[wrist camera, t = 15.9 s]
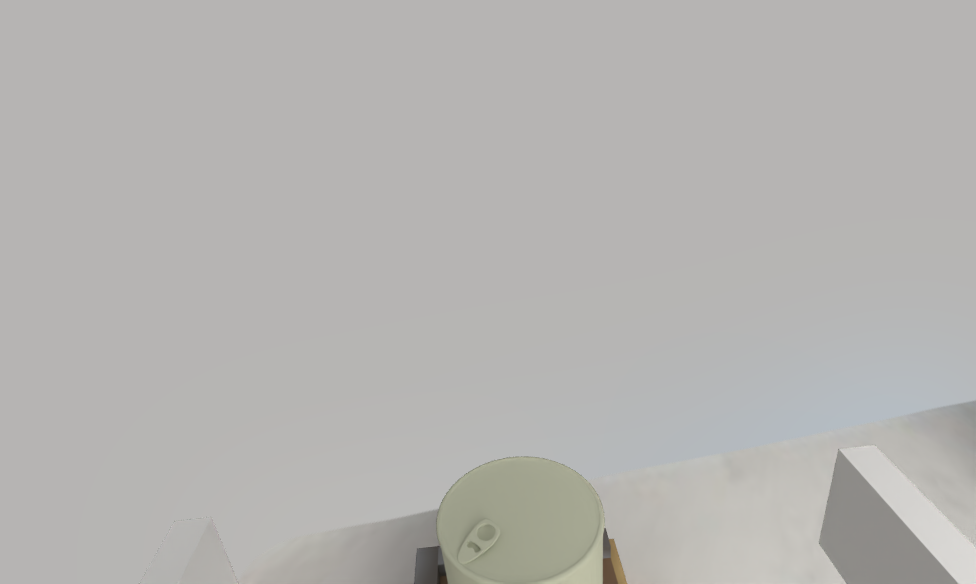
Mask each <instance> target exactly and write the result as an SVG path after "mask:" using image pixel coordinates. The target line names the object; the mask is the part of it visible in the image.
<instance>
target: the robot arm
mask: <svg viewBox="0 0 976 584" xmlns="http://www.w3.org/2000/svg"><path fill="white" fill-rule="evenodd" d="M819 544H820V546H821V547H822V549H823V550H824V552H825V553H826V554H827V556H828V557H829V559H830V560H831V562H832V563H833V565H834V566H835V567H836V569H837V570H838V572H839V573H840V575H841V576H842V578H843V579H844V580H845V582H846V583H847V584H976V547H975V546H974V545H973V544H972V543H971V542H970V541H969V540H968V539H967V538H966V537H965V536H964V535H963V534H962V533H961V532H960V531H959V530H958V529H957V528H956V527H955V526H954V525H953V524H952V523H951V522H950V521H949V520H948V519H947V518H946V517H945V516H944V515H943V514H942V512H941V511H940V510H939V509H938V508H937V507H936V506H935V505H934V504H933V503H932V502H931V501H930V500H929V499H928V498H927V497H926V496H925V495H924V494H923V493H922V492H921V491H920V490H919V489H918V488H917V487H916V486H915V485H914V484H913V483H912V482H911V481H910V480H909V479H908V478H907V477H906V476H905V475H904V474H903V473H902V472H901V471H900V470H899V469H898V468H897V467H896V466H895V465H894V464H893V463H892V462H891V461H890V460H889V459H888V458H887V457H886V456H885V455H884V454H883V453H882V452H881V451H880V449H879V448H878V447H877V446H876V445H869V446H860V447H851V448H842V449H838V454H837V458H836V463H835V468H834V473H833V477H832V482H831V487H830V492H829V496H828V501H827V506H826V511H825V515H824V520H823V525H822V530H821V535H820V539H819ZM139 584H239V583H238V581H237V578H236V576H235V574H234V571H233V569H232V566H231V564H230V561H229V559H228V556H227V554H226V552H225V549H224V547H223V544H222V542H221V539H220V537H219V534H218V532H217V530H216V527H215V525H214V522H213V520H212V518H211V517H207V518H198V519H189V520H179V521H174V523H173V525H172V527H171V528H170V530H169V532H168V534H167V535H166V537H165V539H164V541H163V543H162V544H161V546H160V548H159V550H158V551H157V553H156V555H155V557H154V559H153V560H152V562H151V564H150V565H149V567H148V569H147V571H146V573H145V574H144V576H143V578H142V580H141V581H140V583H139Z"/></svg>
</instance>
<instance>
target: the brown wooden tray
mask: <svg viewBox="0 0 976 584" xmlns="http://www.w3.org/2000/svg"><path fill="white" fill-rule="evenodd" d="M414 584H448V581H447V575H446V570H445V565H444V560H443V555H442V550H441V547H440V546H437V547H428V548H419V549H417V555H416V568H415V581H414ZM603 584H627V582H626V578H625V575H624V572H623V568H622V565H621V562H620V558H619V555H618V552H617V549H616V545H615V542H614V539H609V538H608V535H607V532H606V528H604V532H603Z"/></svg>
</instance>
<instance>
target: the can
mask: <svg viewBox="0 0 976 584" xmlns="http://www.w3.org/2000/svg"><path fill="white" fill-rule="evenodd" d="M604 526H605V519H604V511H603V507H602V503H601V501H600V499H599V496H598V494H597V493H596V491H595V490H594V488H593V487H592V486H591V484H590V483H589V482H588V481H587V480H586V479H585V478H583V477H582V476H581V475H580V474H579V473H577V472H576V471H574V470H573V469H571V468H569V467H567V466H565V465H563V464H560V463H558V462H555V461H551V460H547V459H544V458H537V457H509V458H503V459H499V460H495V461H491V462H488V463H486V464H483V465H481V466H479V467H477V468H475V469H473V470H471V471H470V472H468V473H466V474H465V475H464V476H463V477H462V478H460V479H459V480H458V481H457V482H456V483H455V484H454V485H453V486H452V487H451V488H450V489H449V491H448V492H447V493H446V495H445V497H444V498H443V500H442V502H441V505H440V507H439V511H438V515H437V521H436V530H437V537H438V541H439V544H440V547H441V550H442V555H443V560H444V565H445V570H446V575H447V581H448V584H603V532H604Z"/></svg>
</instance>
